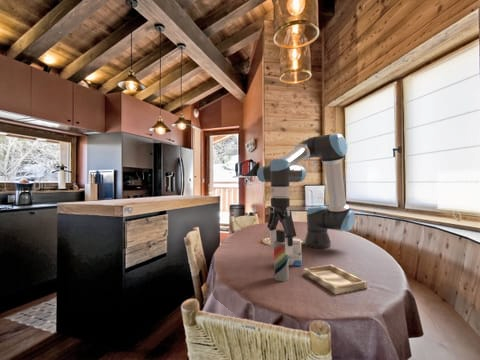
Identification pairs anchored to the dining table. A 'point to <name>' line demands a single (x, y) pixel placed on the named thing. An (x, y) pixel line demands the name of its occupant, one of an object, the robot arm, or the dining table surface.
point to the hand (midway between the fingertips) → (280, 249)
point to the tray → (335, 279)
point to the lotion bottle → (280, 257)
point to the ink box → (295, 254)
